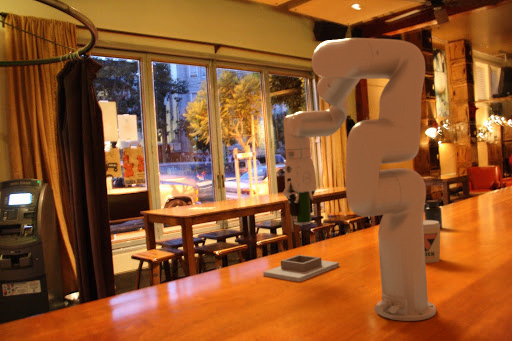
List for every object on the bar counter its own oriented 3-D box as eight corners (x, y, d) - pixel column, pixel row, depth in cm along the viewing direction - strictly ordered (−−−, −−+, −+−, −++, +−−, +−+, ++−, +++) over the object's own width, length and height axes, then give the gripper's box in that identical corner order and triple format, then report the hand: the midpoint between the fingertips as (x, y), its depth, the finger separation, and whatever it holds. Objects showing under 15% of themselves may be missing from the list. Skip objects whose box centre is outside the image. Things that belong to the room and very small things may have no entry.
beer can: (301, 225, 135) (298, 185, 134) (290, 223, 139) (287, 185, 139) (315, 223, 138) (312, 183, 137) (303, 221, 142) (301, 183, 142)
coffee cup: (408, 262, 141) (406, 224, 141) (413, 256, 150) (411, 219, 149) (440, 264, 137) (438, 224, 137) (443, 257, 145) (441, 219, 145)
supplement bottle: (422, 228, 198) (420, 201, 197) (433, 226, 200) (431, 199, 200) (434, 230, 191) (432, 202, 191) (446, 228, 194) (444, 200, 194)
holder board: (299, 282, 129) (298, 269, 129) (263, 275, 139) (262, 263, 138) (338, 266, 143) (337, 254, 143) (303, 261, 153) (303, 250, 153)
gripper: (289, 156, 129) (293, 219, 130) (324, 153, 141) (328, 211, 142) (270, 157, 134) (274, 218, 135) (305, 154, 146) (309, 210, 147)
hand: (301, 213), depth 138 cm, fingers closed on beer can, 5 cm apart
